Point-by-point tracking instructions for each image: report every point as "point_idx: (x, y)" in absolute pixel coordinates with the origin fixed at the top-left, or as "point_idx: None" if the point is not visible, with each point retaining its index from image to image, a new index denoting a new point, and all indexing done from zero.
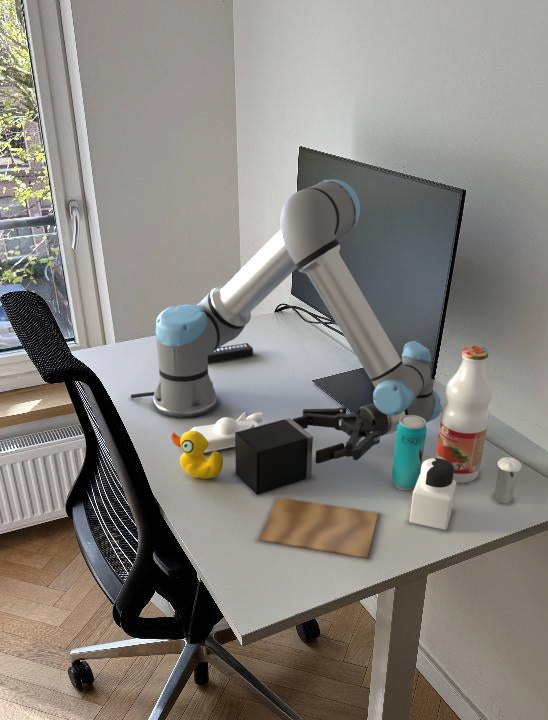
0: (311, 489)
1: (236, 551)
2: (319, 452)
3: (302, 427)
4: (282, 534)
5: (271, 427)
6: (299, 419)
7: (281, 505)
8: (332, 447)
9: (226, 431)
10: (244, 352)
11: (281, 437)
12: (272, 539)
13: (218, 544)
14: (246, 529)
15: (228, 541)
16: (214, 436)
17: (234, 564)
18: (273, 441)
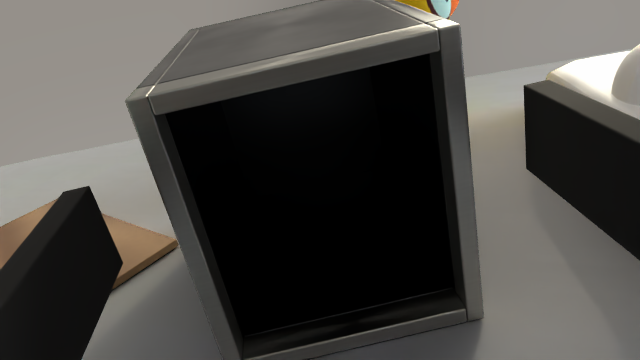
0: (140, 355)
1: (75, 176)
2: (61, 201)
3: (636, 239)
4: (16, 233)
5: (356, 14)
6: (616, 133)
7: (128, 243)
8: (15, 261)
9: (615, 74)
10: None
11: (233, 40)
12: (26, 216)
13: (123, 157)
14: (121, 187)
15: (116, 167)
16: (599, 77)
17: (47, 174)
18: (222, 36)
